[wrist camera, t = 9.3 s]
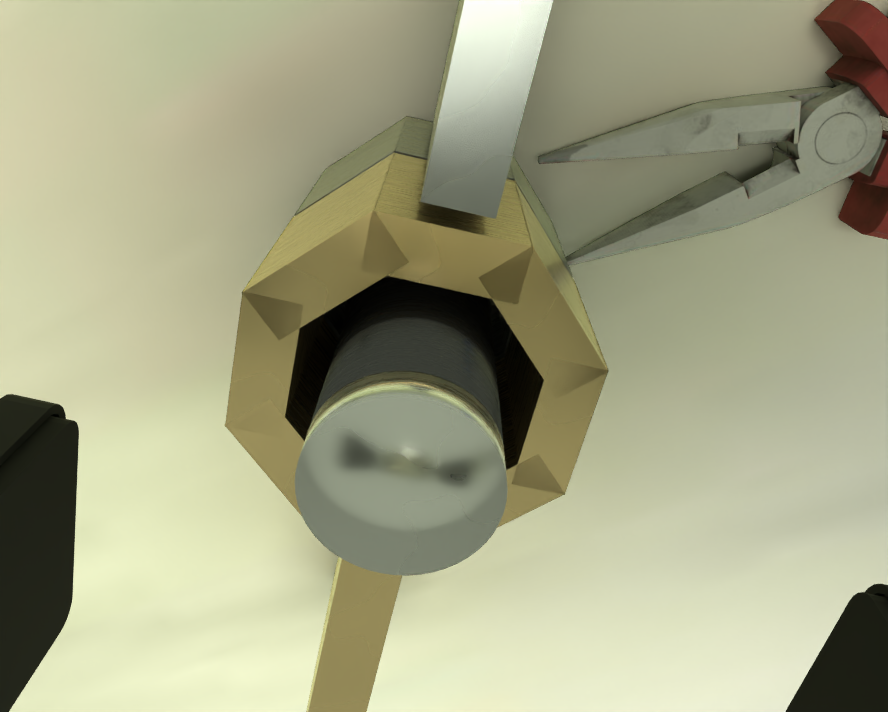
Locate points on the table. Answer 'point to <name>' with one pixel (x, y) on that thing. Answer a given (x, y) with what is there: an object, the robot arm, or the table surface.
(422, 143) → the hinge base
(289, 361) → the hinge leaf
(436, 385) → the hinge pin
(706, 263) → the table surface
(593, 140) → the pliers
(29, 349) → the table surface
